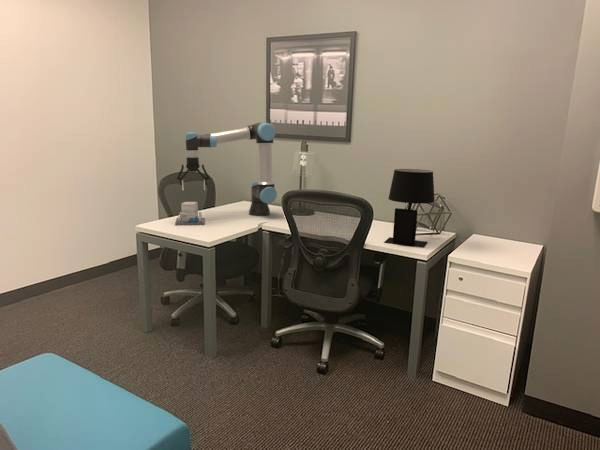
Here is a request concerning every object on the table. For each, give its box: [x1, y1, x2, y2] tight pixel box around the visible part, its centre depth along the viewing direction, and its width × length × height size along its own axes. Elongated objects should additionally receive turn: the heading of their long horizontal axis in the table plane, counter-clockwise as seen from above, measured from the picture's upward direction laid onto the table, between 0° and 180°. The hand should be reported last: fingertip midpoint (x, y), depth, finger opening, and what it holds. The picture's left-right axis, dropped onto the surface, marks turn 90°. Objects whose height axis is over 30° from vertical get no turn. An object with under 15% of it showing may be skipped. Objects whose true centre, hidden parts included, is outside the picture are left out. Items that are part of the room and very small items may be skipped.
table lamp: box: [383, 168, 435, 248], centre depth 257 cm, size 26×28×40 cm
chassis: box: [174, 211, 205, 226], centre depth 293 cm, size 18×16×6 cm
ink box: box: [180, 201, 199, 222], centre depth 292 cm, size 8×8×12 cm
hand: (193, 190), depth 292 cm, fingers open, 13 cm apart
